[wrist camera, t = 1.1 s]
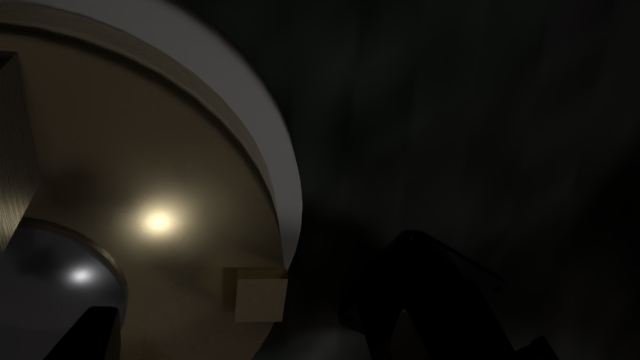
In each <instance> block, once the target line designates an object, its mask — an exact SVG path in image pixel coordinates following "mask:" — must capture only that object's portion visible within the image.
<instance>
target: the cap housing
mask: <svg viewBox="0 0 640 360" xmlns="http://www.w3.org/2000/svg"><path fill="white" fill-rule="evenodd" d="M0 3H15V4H22V5H29V6H35V7H42V8H48V9H54V10H58V11H62V12H66V13H69V14H73V15H77V16H80V17H84V18H88V19H91V20H95V21H97V22H100V23H102V24H105V25H107V26H110V27H112V28H115V29H118V30H120V31H123V32H125V33H128V34H130V35H132V36H134V37H136V38H138V39H140V40H142V41H144V42H146V43H147V44H149V45H151V46H153V47H155V48H157V49H159V50H161V51H163V52H164V53H166V54H167V55H169V56H170V57H172V58H173V59H175V60H176V61H178V62H179V63H181V64H182V65H183V66H185V67H186V68H188V69H189V70H191V71H192V72H194V73H195V74H196V75H197V76H198V77H200V78H201V79H202V80H203V81H204V82H205V83H206V84H207V85H209V86H210V87H211V88H212V89H213V90H214V91H215V92H217V93H218V94H219V95H220V96H221V97H222V98H223V100H224V101H225V102H226V103H227V104H228V105H229V106H230V108H231V109H232V110H233V111H234V112H235V113H236V114H237V116H238V117H239V118H240V119H241V121H242V122H243V124H244V125H245V127H246V128H247V130H248V131H249V133H250V134H251V136H252V137H253V139H254V140H255V142H256V143H257V145H258V148H259V150H260V152H261V154H262V156H263V158H264V160H265V162H266V165H267V167H268V170H269V174H270V177H271V180H272V184H273V187H274V192H275V199H276V206H277V214H278V221H279V228H280V236H281V243H282V251H283V259H284V266H285V268H287V271H288V269H289V266H290V264H291V261H292V259H293V256H294V254H295V252H296V247H297V243H298V239H299V235H300V230H301V220H302V194H301V183H300V177H299V172H298V167H297V163H296V158H295V153H294V149H293V145H292V141H291V138H290V134H289V130H288V126H287V124H286V122H285V119H284V117H283V114H282V112H281V110H280V107H279V105H278V103H277V101H276V99H275V97H274V96H273V94H272V92H271V91H270V89H269V87H268V86H267V84H266V82H265V81H264V79H263V77H262V76H261V74H260V73H259V72H258V71H257V69H256V68H255V67H254V66H253V64H252V63H251V62H250V61H249V59H248V58H247V57H246V56H245V54H244V53H243V52H242V51H241V50H240V49H239V48H238V47H237V46H236V45H235V44H234V43H233V42H232V41H231V40H230V39H229V38H228V37H227V36H226V35H225V34H224V33H223V32H222V31H221V30H220V29H219V28H218V27H217V26H215V25H214V24H213V23H211V22H210V21H209V20H207V19H206V18H205V17H203V16H202V15H201V14H199V13H198V12H197V11H195V10H194V9H193V8H191V7H190V6H189V5H188V4H186V3H184V2H183V1H181V0H0Z"/></svg>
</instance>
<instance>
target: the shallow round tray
mask: <svg viewBox="0 0 640 360" xmlns="http://www.w3.org/2000/svg"><path fill="white" fill-rule="evenodd" d="M287 283H288V275H287V268H285V266H284V259H283V251H282V243H281V236H280V228H279V221H278V214H277V206H276V199H275V192H274V187H273V184H272V180H271V177H270V174H269V170H268V167H267V165H266V162H265V160H264V158H263V156H262V154H261V152H260V150H259V148H258V145H257V143H256V142H255V140H254V139H253V137H252V136H251V134H250V133H249V131H248V130H247V128H246V127H245V125H244V124H243V122H242V121H241V119H240V118H239V117H238V116H237V114H236V113H235V112H234V111H233V110H232V109H231V108H230V106H229V105H228V104H227V103H226V102H225V101H224V100H223V98H222V97H221V96H220V95H219V94H218V93H217V92H215V91H214V90H213V89H212V88H211V87H210V86H209V85H207V84H206V83H205V82H204V81H203V80H202V79H201V78H200V77H198V76H197V75H196V74H195V73H194V72H192V71H191V70H189V69H188V68H186V67H185V66H183V65H182V64H181V63H179V62H178V61H176V60H175V59H173V58H172V57H170V56H169V55H167V54H166V53H164V52H163V51H161V50H159V49H157V48H155V47H153V46H151V45H149V44H147V43H146V42H144V41H142V40H140V39H138V38H136V37H134V36H132V35H130V34H128V33H125V32H123V31H120V30H118V29H115V28H112V27H110V26H107V25H105V24H102V23H100V22H97V21H95V20H91V19H88V18H84V17H80V16H77V15H73V14H69V13H66V12H62V11H58V10H54V9H48V8H42V7H35V6H29V5H22V4H15V3H0V360H43V359H44V358H45V356H46V355H47V354H48V353H49V352H50V351H51V350H52V348H53V347H54V346H55V345H56V344H57V343H58V342H59V340H60V339H61V338H62V337H63V336H64V335H65V334H66V333H67V331H68V330H69V329H70V328H71V327H72V326H73V325H74V323H75V322H76V321H77V320H78V319H79V318H80V317H81V315H82V314H83V313H84V312H85V311H86V310H87V309H88V308H89V307H91V306H116V307H118V309H119V313H120V332H121V351H120V359H119V360H250V359H251V358H252V357H253V356H254V354H255V353H256V352H257V351H258V350H259V348H260V347H261V345H262V343H263V342H264V340H265V339H266V337H267V335H268V334H269V332H270V330H271V328H272V326H273V323H274V322H280V321H282V317H283V310H284V303H285V297H286V290H287Z"/></svg>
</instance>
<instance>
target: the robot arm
mask: <svg viewBox="0 0 640 360" xmlns="http://www.w3.org/2000/svg"><path fill="white" fill-rule="evenodd" d="M421 244H424V245H423V246H420V245H421ZM506 288H507V286H506V283H505V282H504V280H503V279H502V278H501V277H500V276H498V275H496V274H494V273H493V272H491V271H489V270H488V269H486V268H484V267H482V266H481V265H479V264H477V263H475V262H474V261H472V260H470V259H469V258H467V257H465V256H463V255H462V254H460V253H458V252H456V251H455V250H453V249H451V248H450V247H448V246H446V245H444V244H443V243H441V242H439V241H437V240H436V239H434V238H432V237H431V236H429V235H426V234H420V235H417V236H415V237H414V238H413V239H412V240H411V241H410V242H409V243H408V244H407V245H406V246H405V247H404V248H403V249H402V250H401V251H400V252H399V253H398V254H397V255H395V256H394V257H393V258H392V259H391V260H390V261H389V262H388V263H387V264H386V265H385V266H384V267H383V268H382V269H381V270H380V271H379V272H378V273H377V274H376V275H375V276H374V277H373V278H372V279H371V280H370V281H369V282H368V283H367V284H366V285H365V286H364V287H363V288H362V289H361V290H360V291H359V292H358V293H357V294H356V295H355V296H354V297H353V298H352V299H351V300H350V301H349V302H347V303H346V304H345V305H344V306H343V307H342V308H341V309H340V311H339V312H338V318H339V322H340V324H342V325H344V326H346V327H348V328H351V329H353V330H356V331H358V332H360V333H363V334H365V337H366V341H367V344H368V348H369V352H370V355H371V359H372V360H559V359H558V357H557V356H556V354H555V353H554V351H553V350H552V348H551V347H550V345H549V343H548V342H547V340H546V339H545V337H544V336H541V337H539V338H537V339H535V340H533V341H531V342H532V344H530V345H528V346H526V347H524V348H521V349H519V350H517V351H515V350H514V349H513V347H512V345H511V343H510V341H509V340H508V338H507V336H506V334H505V332H504V331H503V329H502V327H501V325H500V323H499V322H498V320H497V318H496V316H495V314H494V313H493V311H492V309H491V307H490V305H489V304H490V303H492V302H493V301H494V300H495V299H496V298H497V297H499V296H500V295H501V294H502V293H503V292H504V291H505V290H506ZM120 351H121V332H120V313H119V309H118V307H116V306H91V307H89V308H88V309H87V310H86V311H85V312H84V313H83V314H82V315H81V317H80V318H79V319H78V320H77V321H76V322H75V323H74V325H73V326H72V327H71V328H70V329H69V330H68V331H67V333H66V334H65V335H64V336H63V337H62V338H61V339H60V340H59V342H58V343H57V344H56V345H55V346H54V347H53V348H52V350H51V351H50V352H49V353H48V354H47V355H46V356H45V358H44V359H43V360H119V359H120Z"/></svg>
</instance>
